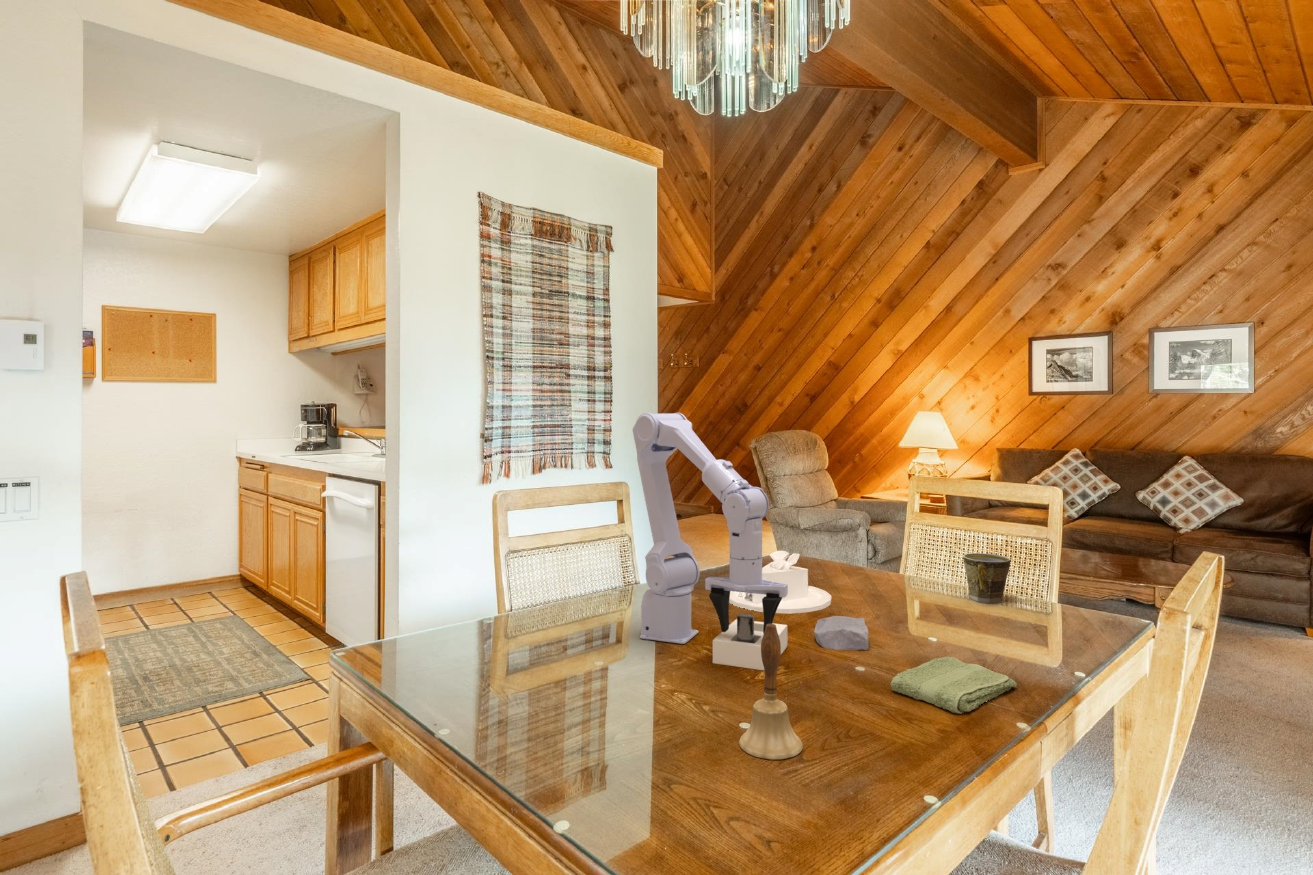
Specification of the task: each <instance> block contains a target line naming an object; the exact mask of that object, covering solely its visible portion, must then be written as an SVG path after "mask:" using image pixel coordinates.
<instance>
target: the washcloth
mask: <svg viewBox="0 0 1313 875" xmlns="http://www.w3.org/2000/svg"><path fill="white" fill-rule="evenodd" d="M1017 685H1018V684H1017V682H1016V681H1015V680H1013V678H1010V677H1009V676H1008V675H1005V674H1002V673H999V672H997V671H992V670H991V669H988V668H986V667H985V666H981V665H980V664H976V663H965V662H963V661H961V660H959V659H957V658H956V657H952V656H944V657H938V658H936V657H935V658H933V659H930V660H929V661H927V662H924V663H921V664H920V665H918V666H916V667H912V668H907V669H905V670H904V671H901V672H899V673H897V674H896V675H895V676H894V677H893V678H891V682H890V687H891V690H892V691H894V692H895V693H899V694H901V695H905V696H908V697H910V698H913V699H914V700H916V701H919V700H920V701H924V702H926V703H929V704H933V705H934V706H935V707H937V708H939V709H940V708H942V709H943V710H947V711H948V710H949V711H948V712H951V713H953V714H960V715H962V713H963V714H964V712H965V713H968V712H971V711H972V710H976V709H978V708H979V707H980V706H982V705H981V704H983V703H984V702H986V701H988V700H989V701H991V700H992V699H993V698H994V699H995V698H998V697H999V696H1000V695H1001V694H1003V693H1005V692H1008V691H1010V690H1011V689H1012V688H1016V687H1017ZM989 701H988V702H989ZM979 705H980V706H979ZM983 705H984V704H983ZM978 706H979V707H978Z"/></svg>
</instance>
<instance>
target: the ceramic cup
mask: <svg viewBox="0 0 1313 875" xmlns="http://www.w3.org/2000/svg"><path fill="white" fill-rule="evenodd" d="M962 557H963V564H964V571H965V574H966V579H967V580H966V581H967V586H968V592H969V597H970V599H971V600H972V601H975V602H977V603H982V604H983V603H984V604H1000V603H1001V602H1002V601H1003V597H1004V594H1005V588H1006V583H1007V578H1008V575H1009V571H1010V566H1011V558H1010V557H1008V556H1004V555H999V554H995V553H994V554H993V553H982V552H981V553H978V552H975V553H972V552H971V553H966V554H964V555H963V556H962Z"/></svg>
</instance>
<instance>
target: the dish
mask: <svg viewBox="0 0 1313 875" xmlns="http://www.w3.org/2000/svg"><path fill="white" fill-rule="evenodd" d="M800 556H801V554H800V553H795V552H794V553H792V554H791V553H790V552H788V551H785V550H776V551H773V552H772V553H770V554H769V558H771V559H772V560H773V561H771V562H769V563H768V564H766V565H765V566H762V580H766V581H771V582H776V583H783V584H788V595H787V596H786V597H782V599H781V601H780V603H779V606H778V608H777V610H776V613H775V614H800V613H801V614H802V613H810V612H816V611H821V610H824V609H825V608H827V607H829V606H831V604H832V595H831V594H830V593H829V592H827V590H824V589H821V588H819V587H817V586H816V587H815V586H812V585H809V569H808V568H805V567H800V566H795V564H797V563H798V561H799V558H800ZM764 597H766V595H765V594H755V593H745V592H735V591H730V598H729V605H732V604H733V606H734V607H736V606H737V607H736V608H739V607H740V608H739V609H743V608H745V609H744V610H747V609H748V611H751V610H754V611H753V612H759V613H760V612H761V613H763V604H762V599H763V598H764Z"/></svg>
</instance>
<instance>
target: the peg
mask: <svg viewBox="0 0 1313 875" xmlns="http://www.w3.org/2000/svg"><path fill="white" fill-rule="evenodd" d="M736 619H737V641H739V642H747V643H754V621H755V615H754V614H751V613H739V614H736Z"/></svg>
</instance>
